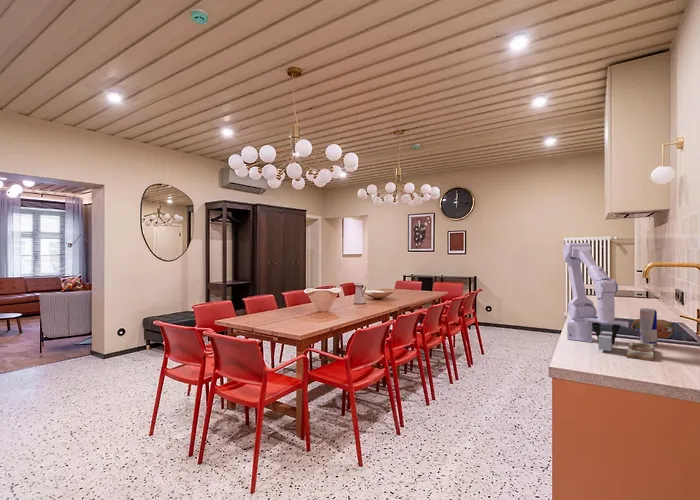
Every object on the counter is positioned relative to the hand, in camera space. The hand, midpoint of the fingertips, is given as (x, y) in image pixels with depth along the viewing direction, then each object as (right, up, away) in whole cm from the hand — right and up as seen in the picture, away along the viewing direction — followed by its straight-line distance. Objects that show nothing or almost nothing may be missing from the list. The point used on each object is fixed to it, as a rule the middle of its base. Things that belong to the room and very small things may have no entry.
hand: (606, 342), depth 148 cm
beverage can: (+24, -3, +8) cm, 25 cm away
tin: (+35, -3, +19) cm, 40 cm away
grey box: (0, -2, 0) cm, 2 cm away
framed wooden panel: (+9, -3, -6) cm, 11 cm away
